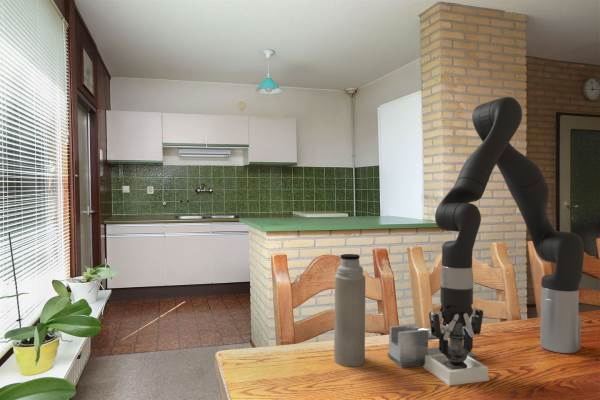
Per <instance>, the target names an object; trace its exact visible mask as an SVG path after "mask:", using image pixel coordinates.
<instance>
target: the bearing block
mask: <svg viewBox="0 0 600 400" xmlns="http://www.w3.org/2000/svg"><path fill="white" fill-rule="evenodd" d="M388 328H389V334H388V335H389V341H388V343H389V344H388V345H389V346H388V347H389V348H388V349H389V351H388V352H387V358H389V359H390V360H392V362H394V363H395V364H396V365H398V366H399V367H400V368H402V369H405V368H413V367H421V366H423V365H425V356H427V355H436V354H442V353H441V351H440V350H439V346H438V347H430V348H429V340H428V330H426V329H424V328H422V329H423V330H417V329H420V328H419V324H417V323H411V324H400V325H390V326H389V327H388ZM467 356H469V357H471V358H473V359H474V360H477V359H478V358H477V354H475V353H473V352H472V351H471V352H469V354H468V355H467Z"/></svg>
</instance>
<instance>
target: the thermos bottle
mask: <svg viewBox="0 0 600 400" xmlns="http://www.w3.org/2000/svg"><path fill="white" fill-rule="evenodd" d="M336 272H337V273H336V274H335V275H334V335H333V336H334V340H333V341H334V342H333V343H334V344H333V345H334V346H333V347H334V348H333V351H334V353H333V355H334V359H333V361H334V362H335V363H336V364H337V365H341V366H345V367H359V366H362V365H364V363H365V362H366V360H365V359H366V358H365V357H366V345H365V344H366V276H365V275H364V270H363V267H362V266H361V265H360V254H356V253H355V254H354V253H343V254H341V255H340V265H339V266H338V267H337V270H336Z"/></svg>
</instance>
